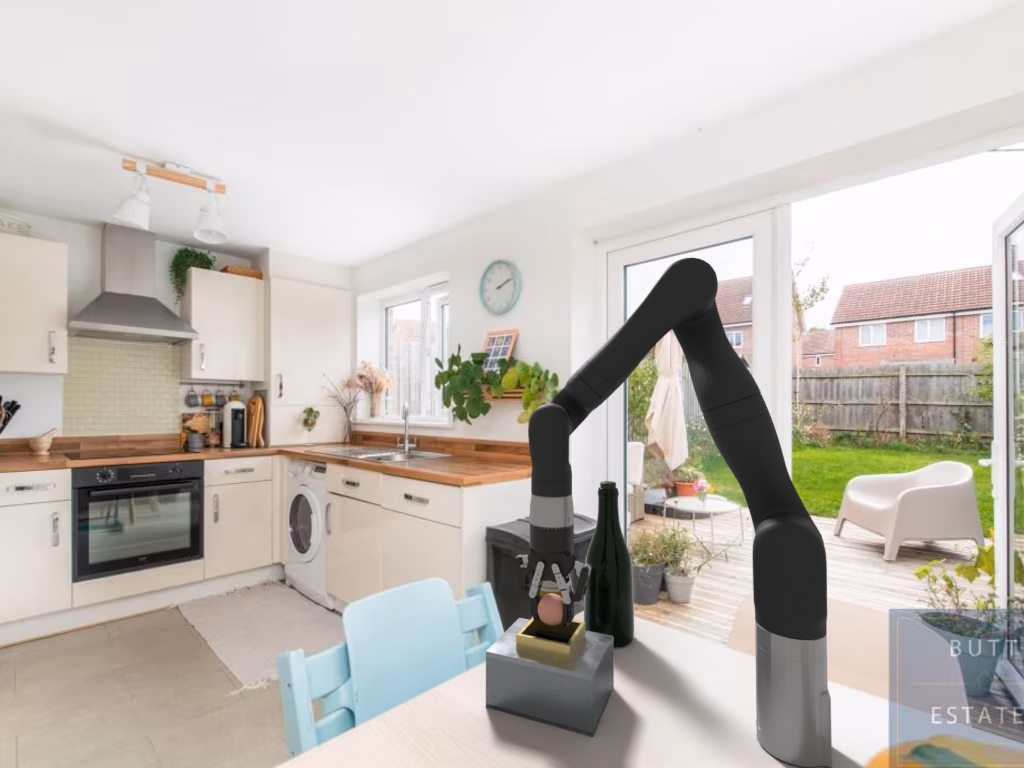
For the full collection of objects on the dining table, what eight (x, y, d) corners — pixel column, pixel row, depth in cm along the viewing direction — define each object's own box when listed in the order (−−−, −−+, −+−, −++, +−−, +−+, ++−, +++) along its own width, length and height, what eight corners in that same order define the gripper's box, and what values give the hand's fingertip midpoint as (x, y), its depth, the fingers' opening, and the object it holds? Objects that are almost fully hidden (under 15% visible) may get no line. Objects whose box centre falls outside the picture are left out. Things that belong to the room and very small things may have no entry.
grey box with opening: (613, 688, 88) (613, 621, 88) (593, 736, 75) (592, 658, 76) (519, 665, 95) (519, 604, 96) (485, 706, 82) (485, 635, 83)
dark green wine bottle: (584, 648, 102) (584, 485, 103) (583, 625, 112) (582, 477, 113) (637, 651, 101) (636, 486, 102) (631, 628, 111) (630, 478, 112)
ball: (570, 620, 87) (570, 591, 87) (561, 633, 82) (561, 602, 83) (543, 615, 89) (543, 587, 89) (533, 627, 84) (533, 597, 85)
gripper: (598, 519, 87) (598, 619, 86) (521, 512, 93) (521, 605, 92) (586, 529, 80) (586, 638, 79) (504, 520, 86) (504, 622, 85)
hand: (551, 620), depth 86 cm, fingers closed on ball, 4 cm apart
